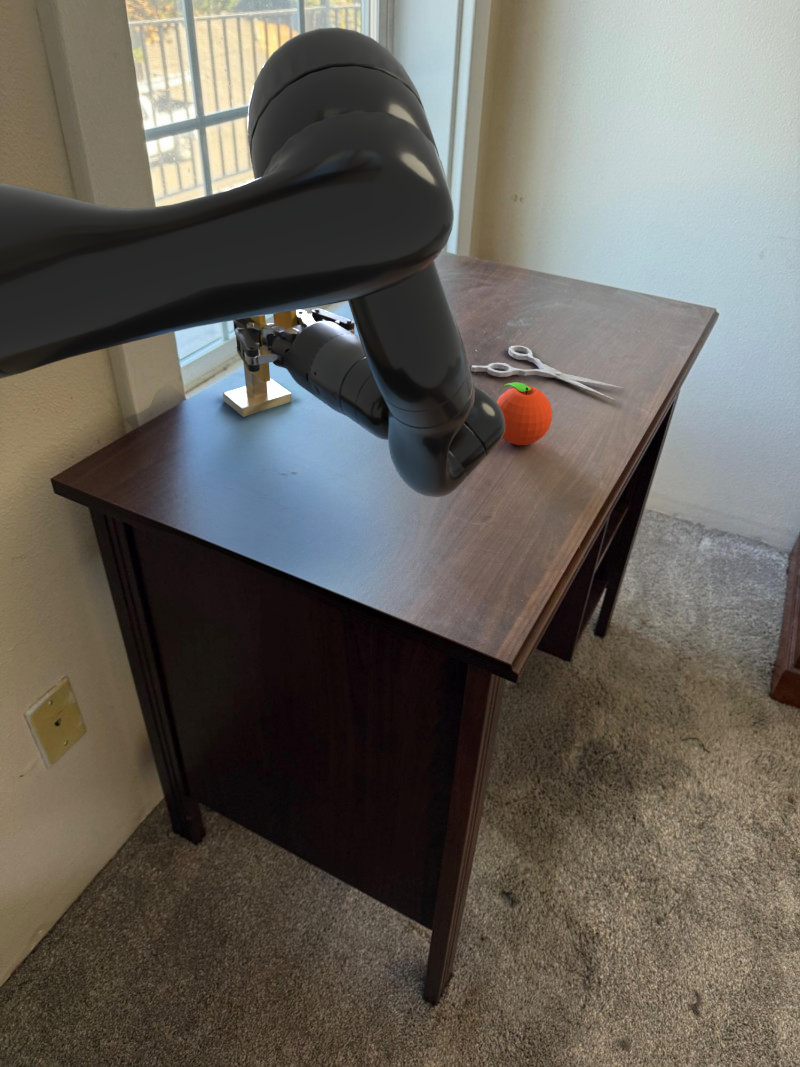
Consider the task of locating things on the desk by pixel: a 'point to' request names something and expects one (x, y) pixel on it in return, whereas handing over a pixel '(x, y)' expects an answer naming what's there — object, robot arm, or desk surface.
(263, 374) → the yellow goalpost frame
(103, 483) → the desk surface
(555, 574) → the desk surface
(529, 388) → the clementine
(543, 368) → the scissors
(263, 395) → the rack
